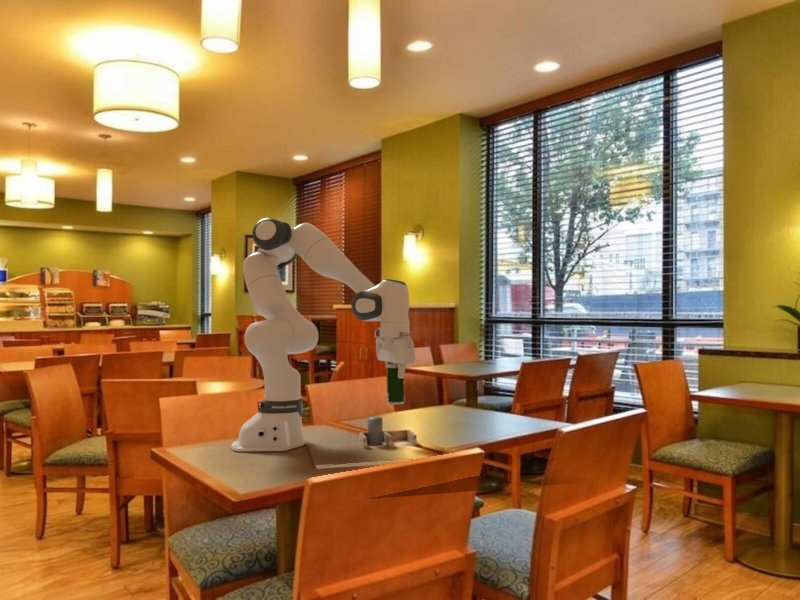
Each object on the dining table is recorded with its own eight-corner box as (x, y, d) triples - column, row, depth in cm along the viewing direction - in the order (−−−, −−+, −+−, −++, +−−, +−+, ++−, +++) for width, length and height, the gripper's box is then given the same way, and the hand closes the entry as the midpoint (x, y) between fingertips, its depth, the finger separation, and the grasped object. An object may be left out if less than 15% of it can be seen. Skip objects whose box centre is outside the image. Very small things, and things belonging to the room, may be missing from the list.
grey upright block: (368, 446, 179) (368, 419, 179) (366, 443, 183) (366, 417, 183) (383, 445, 180) (383, 418, 180) (380, 442, 184) (380, 416, 184)
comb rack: (363, 451, 176) (363, 438, 176) (358, 445, 185) (358, 432, 185) (416, 448, 180) (416, 435, 180) (409, 442, 188) (409, 429, 189)
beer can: (390, 405, 178) (390, 365, 178) (384, 402, 183) (384, 363, 183) (407, 404, 180) (406, 364, 180) (400, 401, 185) (400, 362, 185)
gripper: (420, 332, 174) (420, 379, 174) (390, 331, 193) (390, 374, 192) (400, 332, 171) (401, 381, 171) (372, 331, 190) (372, 375, 189)
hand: (395, 377), depth 182 cm, fingers closed on beer can, 5 cm apart
